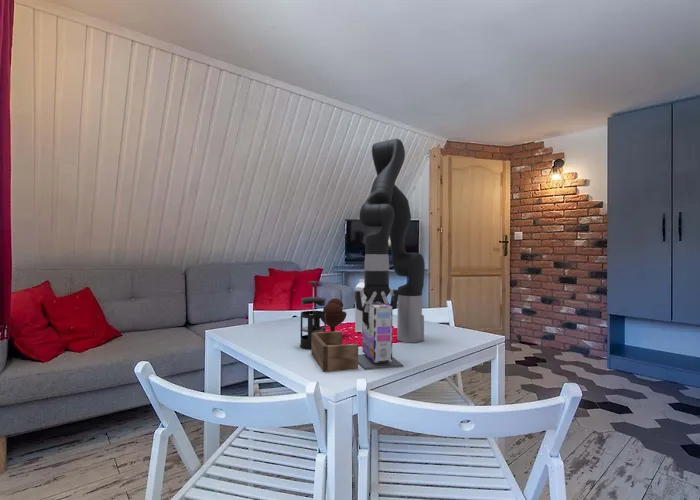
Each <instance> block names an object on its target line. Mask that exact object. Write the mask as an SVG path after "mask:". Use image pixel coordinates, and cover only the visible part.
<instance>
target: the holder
mask: <svg viewBox="0 0 700 500" xmlns="http://www.w3.org/2000/svg"><path fill="white" fill-rule="evenodd" d="M310 351H311V352H310V355H311V357H313V359H314V361H315V362H316V363H317V365H318V366H319V368H320V369H321V371H322V372H323V373H324V372H325V373H326V372H338V371H349V370H350V371H351V370H359V364H358V355H359V344H358V343H348V344H347V343H346V344H343V331H341V330H339V331H337V330H335V331H334V332H330V331H326V332H324V331H322V332H315V333H314V332H313V333H311V350H310Z"/></svg>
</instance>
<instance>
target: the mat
mask: <svg viewBox="0 0 700 500" xmlns="http://www.w3.org/2000/svg"><path fill="white" fill-rule="evenodd" d="M358 366H360V367H361V368H362V369H363V370H364V371H367V370H379V369H381V370H382V369H390V368H391V369H394V368H403V367H404V364H403V363H401V362H400V361H399V360H398V359H396V358H395V357H394V356H392V362H375V363H374V362H373V361H372V360H371V359H370V358H369V357H368V356H367V355H366V354H365V353H362V354H359V353H358Z"/></svg>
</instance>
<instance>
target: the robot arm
mask: <svg viewBox="0 0 700 500" xmlns="http://www.w3.org/2000/svg"><path fill="white" fill-rule="evenodd" d="M371 146H372V147H371V155H372V161H373V165H374V168H375V173H376V175H377V176H376V177H375V179H374V180H373V182H372V185H371V190H370V193H369V195H368V197H367V198H366V200H365V201H364V203H363V204H362V205H361V208H360V210H359V223H361V225H362V226H363V227H366V228H381V229H380V230H379V232H378V233H374V234H369V235H367V236H366V237H365V242H364V243H365V249H364V252H365V257H364V272H363V273H364V276H363V277H364V278H363V279H364V285H365V286H364V289H363V290H359V291H357V290H354V291H353V293H354V302H355V301H356V308H357V309H358V310H360V311H362V312H363V322H364V324H366V325H368V324H369V313H368V310H369V305H372V303H375V302H381V303H384V304H387V305H389V306H392V311H393V310H396V309H397V318H396V319H397V321H396V323H397V324H396V325H397V331H396V332H397V333H396V336H397V337H396V338H397V339H396V340H397V341H400V342H404V343H420V342H423V341H425V315H423V290H424V286H425V285H424V284H425V280H424V279H425V271H426V269H425V266H426V265H425V259H424V256H423V255H422V254H421V253H420V252H419V253H418V252H407V251H406V246H405V245H406V244H405V239H406V234H407V232H408V229H409V227H410V224H411V219H412V214H411V209H410V208H411V207H410V203H409V199H408V198H407V196H406V195H405V194H404V193H403V191H401V189H400V188H399V187H398V186H397V185H396V184H395V183H396V181H397V180H398V179H397V178H398V176H399V175H400V172H401V169H402V167H403V164H404V162H405V157H406V150H405V146H404V144H403V141H402V140H401V139H399V138H393V139H392V138H391V139H387V140H384V141H383V140H382V141H379V142H375V143H373V144H372V145H371ZM389 241H390V248H391V249H390V250H391V257H392V258H391V260H392V266H393V271H394V272H395V274H396V275H397V276H400V277H404V278H405V277H406V278H408V281H407V282H406V283H405V284H403V285H401V286H398V287H397V289H395V288H394V289H391V288H390V285H389V284H390V260H389V259H390V258H389ZM363 293H364V294H365V296H366V297H367V298H366V300H365V302H364V305H363V307H362V301H361V297H362V296H363ZM389 295H390V297H391V298H390V302H389V300H388V296H389ZM367 300H368V301H367Z"/></svg>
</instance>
